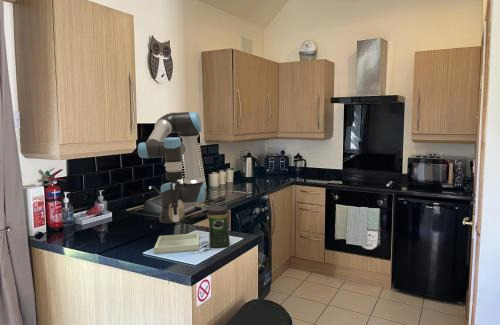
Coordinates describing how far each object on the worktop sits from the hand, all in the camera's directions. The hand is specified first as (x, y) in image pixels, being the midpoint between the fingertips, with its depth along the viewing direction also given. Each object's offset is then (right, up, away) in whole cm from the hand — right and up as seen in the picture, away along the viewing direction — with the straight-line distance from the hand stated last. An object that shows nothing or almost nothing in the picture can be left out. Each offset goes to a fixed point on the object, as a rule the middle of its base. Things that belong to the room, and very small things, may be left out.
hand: (176, 219), depth 178 cm
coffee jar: (+20, -12, -1) cm, 23 cm away
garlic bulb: (0, 0, 0) cm, 1 cm away
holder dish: (+1, -13, +1) cm, 13 cm away
